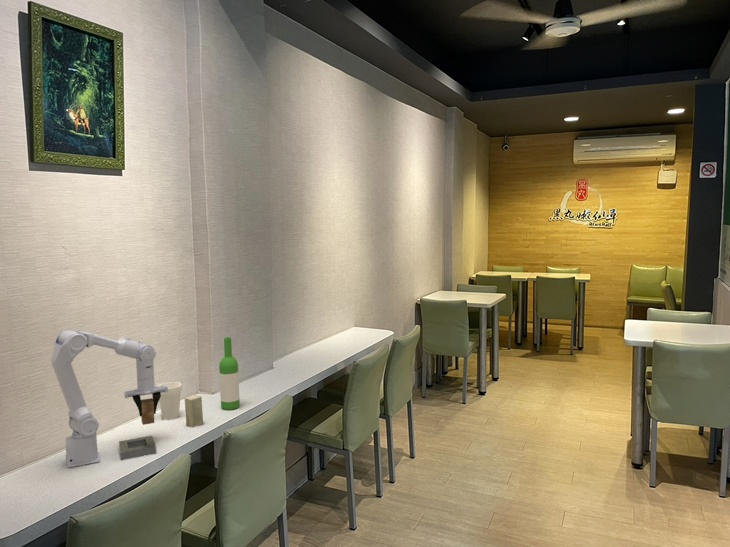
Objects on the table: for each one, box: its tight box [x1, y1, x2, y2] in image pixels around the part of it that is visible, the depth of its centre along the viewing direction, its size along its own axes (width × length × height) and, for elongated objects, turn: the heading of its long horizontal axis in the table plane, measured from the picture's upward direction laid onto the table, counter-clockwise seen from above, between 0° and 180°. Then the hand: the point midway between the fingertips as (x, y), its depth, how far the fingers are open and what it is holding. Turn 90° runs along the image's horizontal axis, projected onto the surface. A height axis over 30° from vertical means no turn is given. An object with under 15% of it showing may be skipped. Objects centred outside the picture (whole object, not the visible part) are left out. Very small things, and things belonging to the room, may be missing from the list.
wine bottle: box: [218, 337, 241, 411], centre depth 236 cm, size 8×8×30 cm
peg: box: [140, 397, 155, 426], centre depth 202 cm, size 4×4×8 cm
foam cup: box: [156, 381, 183, 420], centre depth 227 cm, size 10×9×13 cm
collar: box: [118, 435, 157, 461], centre depth 194 cm, size 11×11×2 cm
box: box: [184, 394, 204, 428], centre depth 218 cm, size 5×4×11 cm
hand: (147, 414), depth 202 cm, fingers closed on peg, 4 cm apart
